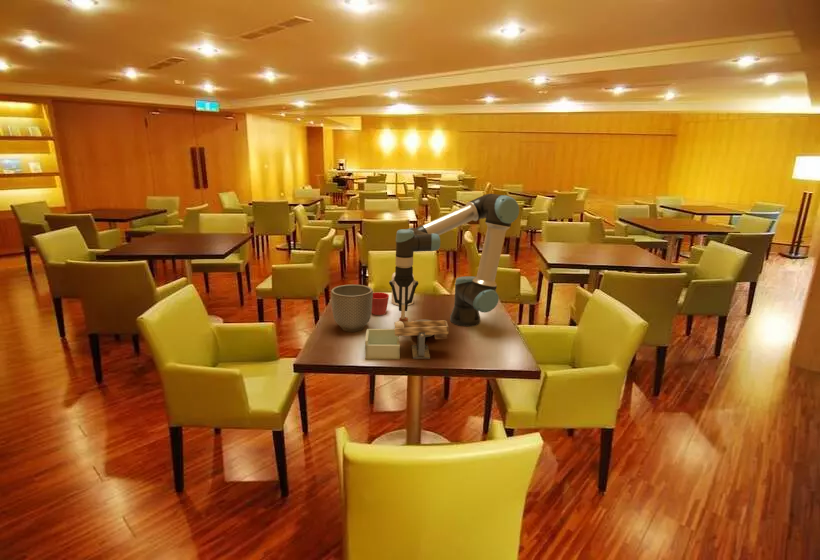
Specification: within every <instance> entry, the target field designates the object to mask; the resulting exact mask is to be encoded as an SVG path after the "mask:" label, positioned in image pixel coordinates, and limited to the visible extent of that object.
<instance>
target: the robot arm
mask: <svg viewBox="0 0 820 560" xmlns="http://www.w3.org/2000/svg"><path fill="white" fill-rule="evenodd" d="M519 214H520V207H519V203H518V202H517V200H516V199H515V198H513V197H512V196H509V195H507V194H505V195H504V194H496V193H488V194H483V195H481V196H479V197H477V198H474V199H472V200H470V201H468V202H466V205H464V206H462V207H460V208H458V209H454V210H453V211H451V212H449V213H447V214H444V215H442V216H439V217H438V218H435V219H433V220H431V221H429V222H427V223H424V224H422V225H420V226H417V227H416V228H415V227H409V228H405V229H404V228H403V229H402V228H401V229H398V230H397V231H396V235H395V267H394V268H395V270H394V271H395V277H394V279H393V280H392V279H391V280H389V282H388V283H389V285H390V287H391V292H392V291H393V296H394V300H395V303H398V304H399V306H398V311H399V312H400V313H401V314H400V316H401V319H405V317H406V316H405V314H406V312H408V306H409V305H408V304H409V303H412V300H413V296H415V292H416V289H417V288H418V285H419V281H418V280H416V279H415V277H414V278H413V275H414V273H413V271H414V267H413V266H414V253H416V252H417V253H418V252H419V253H420V252H434V251H435V252H436V251H438V250H439V249H440V248H441V237H440V236H441V235H443V234H445V233H448V232H450V231H452V230H454V229H456V228H459V227H461V226H463V225H465V224H467V223H469V222H471V221H474V222H477V221H478V220H482V219H485V221H484V223H485V225H486V226H487V227H486V233H485V237H484V240H483V246H482V250H481V251H482V252H481V255H480V259H479V263H478V268H477V274H476V276H468V275H467V276H459V277H456V279H455V282H454V302H453V303H454V304H453V308H452V312H451V313H450V317H449V320H450V322H451V323H452V324H453V325H457V326H461V327H475V326H478V325H479V324H480V323H481V316H480V313H489V312H491V311H492V310H494V309H495V308H496V307H497V305H498V303H499V300H500V296H499V294H498V292H497V286H498V284H497V282H496V278H497V272H498V267H499V263H500V259H501V255H502V250H503V246H504V242H505V238H506V234H507V231H508V230H509V229H510V228H511V226H512V223H513V222H515V220H517V219H518V216H519ZM395 282H396V283H397V285H398V286H399V300H398V299H397V295H396V291H395V286H394V285H395ZM412 282H413V287H412V291H411V294H410V298H409V300H408V287H409V286H410V284H411V283H412ZM402 287H405V303H402Z"/></svg>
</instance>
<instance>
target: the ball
mask: <svg viewBox="0 0 820 560" xmlns="http://www.w3.org/2000/svg"><path fill="white" fill-rule="evenodd" d="M395 322H396V323H395ZM395 322H394V329H395V328H404V323H403V322H402V321H399V320H398V321H395Z"/></svg>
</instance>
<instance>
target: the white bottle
mask: <svg viewBox="0 0 820 560" xmlns="http://www.w3.org/2000/svg"><path fill="white" fill-rule="evenodd" d="M394 277H395V272H393V273H392V275H391V281H392V280H393V279H394ZM413 278H414V279H415V275H414V274H413ZM394 286H395V291H396V295H397V299H398V300H399V286H398V285H397V283H396V282H395V285H394ZM412 287H413V282H412V283H411V284H410V286H409V287H408V300H409V298H410V294H411V291H412ZM414 296H415V295H414ZM414 296H413V300H412V303H409V304H408V306H411V305H413V304H414V301H415V300H414V299H415V298H414ZM391 303H392V305H396V306H398V307H399V304H398V303H395V300H394V296H393V291H392V290H391ZM402 303H405V287H402Z"/></svg>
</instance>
